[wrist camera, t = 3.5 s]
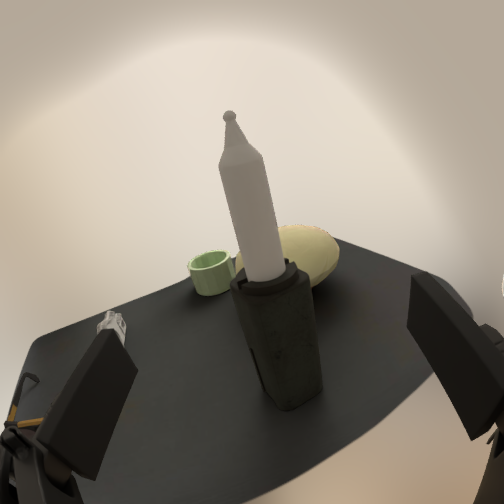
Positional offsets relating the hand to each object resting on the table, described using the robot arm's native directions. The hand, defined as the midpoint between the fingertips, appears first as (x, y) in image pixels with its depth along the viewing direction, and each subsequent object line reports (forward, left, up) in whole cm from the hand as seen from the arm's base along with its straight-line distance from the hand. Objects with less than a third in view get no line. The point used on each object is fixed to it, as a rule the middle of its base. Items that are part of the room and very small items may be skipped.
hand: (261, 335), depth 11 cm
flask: (+6, -27, -16) cm, 32 cm away
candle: (+3, -9, -16) cm, 18 cm away
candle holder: (+21, -30, -15) cm, 40 cm away
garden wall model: (+29, -11, -16) cm, 35 cm away
